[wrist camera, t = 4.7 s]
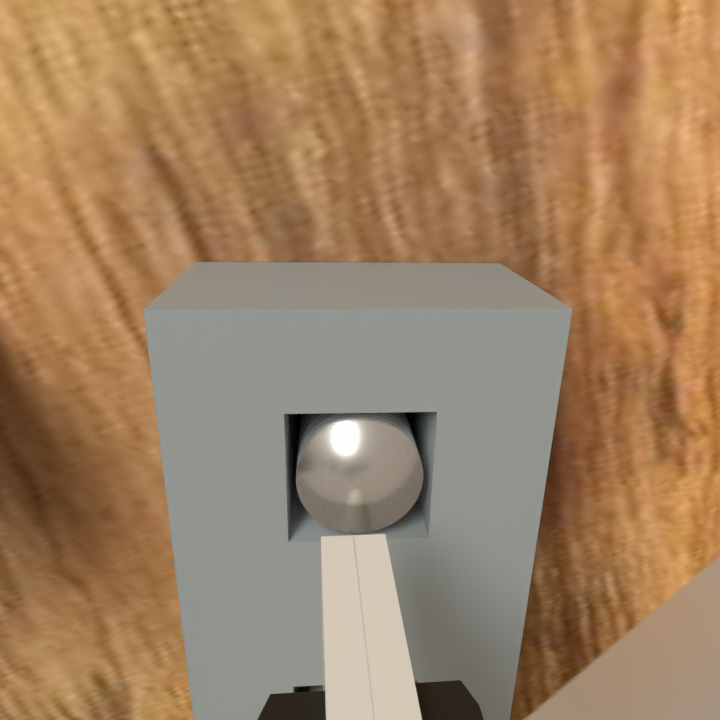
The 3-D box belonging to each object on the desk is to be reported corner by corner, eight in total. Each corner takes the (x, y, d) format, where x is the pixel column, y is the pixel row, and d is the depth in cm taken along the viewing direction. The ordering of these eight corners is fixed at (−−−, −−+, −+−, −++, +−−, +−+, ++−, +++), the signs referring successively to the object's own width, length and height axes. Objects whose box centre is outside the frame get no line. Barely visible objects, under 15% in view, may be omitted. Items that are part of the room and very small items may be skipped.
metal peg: (303, 432, 25) (297, 534, 18) (301, 346, 23) (294, 423, 17) (393, 431, 25) (420, 531, 18) (397, 346, 24) (427, 421, 17)
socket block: (232, 679, 29) (207, 831, 23) (196, 262, 22) (143, 309, 15) (457, 669, 30) (495, 813, 24) (499, 263, 23) (572, 309, 16)
